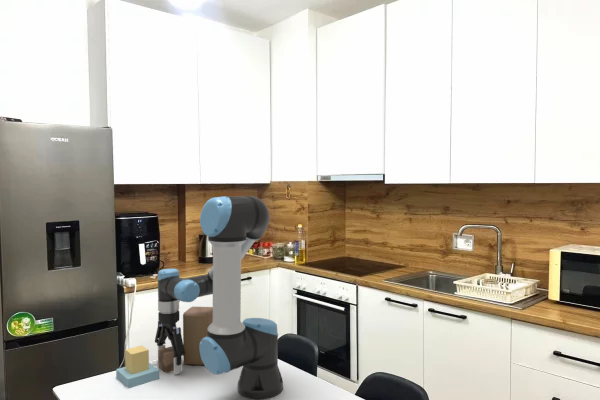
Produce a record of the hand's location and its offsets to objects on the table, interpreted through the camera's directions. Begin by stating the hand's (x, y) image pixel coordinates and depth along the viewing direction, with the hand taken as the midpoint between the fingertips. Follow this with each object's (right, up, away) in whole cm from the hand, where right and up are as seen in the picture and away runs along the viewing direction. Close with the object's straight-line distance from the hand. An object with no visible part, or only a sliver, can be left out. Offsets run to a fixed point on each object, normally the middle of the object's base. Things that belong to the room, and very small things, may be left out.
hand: (169, 367), depth 162 cm
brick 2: (0, 0, 0) cm, 0 cm away
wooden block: (+9, 0, +7) cm, 12 cm away
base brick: (-9, 0, -8) cm, 12 cm away
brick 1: (-9, +3, -8) cm, 12 cm away
